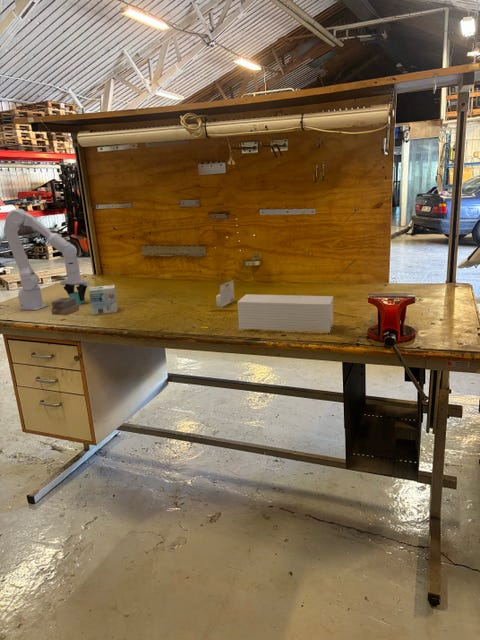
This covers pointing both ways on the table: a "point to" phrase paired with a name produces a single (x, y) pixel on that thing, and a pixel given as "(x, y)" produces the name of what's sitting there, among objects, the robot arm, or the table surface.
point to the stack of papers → (285, 312)
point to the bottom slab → (65, 310)
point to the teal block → (76, 298)
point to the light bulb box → (103, 299)
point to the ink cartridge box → (225, 294)
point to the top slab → (63, 303)
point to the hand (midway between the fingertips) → (77, 300)
